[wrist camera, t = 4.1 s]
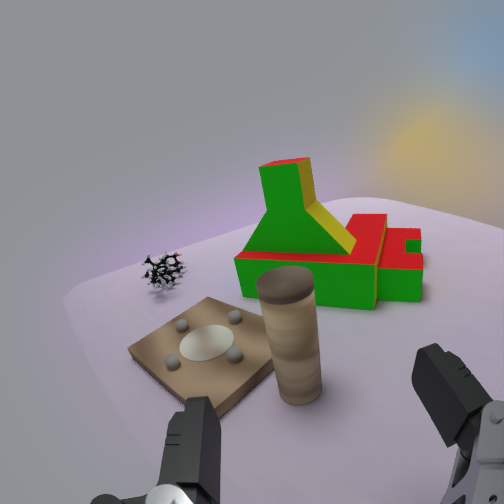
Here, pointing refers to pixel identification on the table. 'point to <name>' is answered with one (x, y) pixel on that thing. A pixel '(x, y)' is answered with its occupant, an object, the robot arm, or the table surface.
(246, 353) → the walnut base board
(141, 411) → the table surface
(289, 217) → the building blocks toy
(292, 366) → the oak post
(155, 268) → the molecular model
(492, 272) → the table surface
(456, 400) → the robot arm
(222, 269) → the table surface
